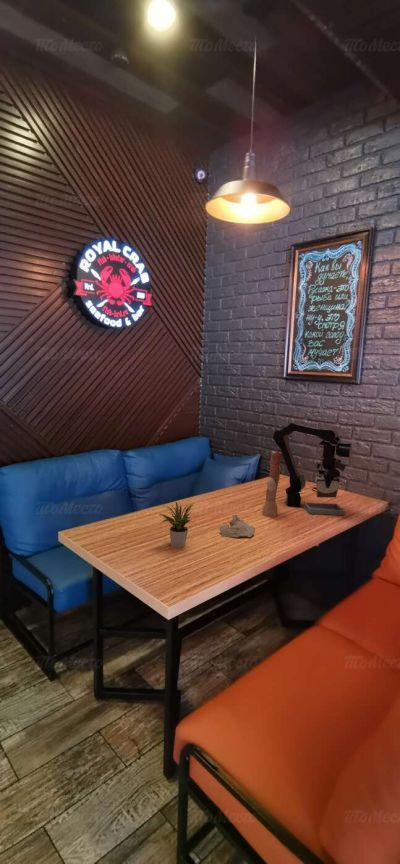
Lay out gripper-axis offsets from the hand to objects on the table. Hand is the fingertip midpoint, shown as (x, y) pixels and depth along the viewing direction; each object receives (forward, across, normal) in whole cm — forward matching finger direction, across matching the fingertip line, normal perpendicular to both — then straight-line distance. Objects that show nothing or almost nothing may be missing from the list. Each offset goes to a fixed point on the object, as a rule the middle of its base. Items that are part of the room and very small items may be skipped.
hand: (325, 486), depth 206 cm
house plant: (+13, -45, +70) cm, 84 cm away
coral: (+13, -31, +46) cm, 57 cm away
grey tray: (+12, 0, 0) cm, 12 cm away
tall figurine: (+13, -7, +27) cm, 31 cm away
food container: (+5, +1, 0) cm, 5 cm away
